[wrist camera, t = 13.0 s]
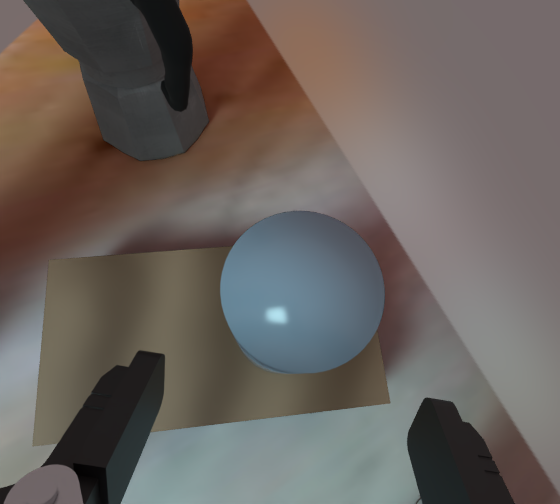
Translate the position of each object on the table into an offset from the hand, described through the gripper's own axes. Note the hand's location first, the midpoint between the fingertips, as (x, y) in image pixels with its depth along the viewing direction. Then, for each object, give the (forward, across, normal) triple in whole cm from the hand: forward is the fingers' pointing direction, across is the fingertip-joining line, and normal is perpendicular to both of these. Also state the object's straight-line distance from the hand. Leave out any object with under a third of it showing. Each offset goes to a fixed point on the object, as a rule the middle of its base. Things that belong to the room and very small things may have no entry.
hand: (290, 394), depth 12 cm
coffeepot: (+24, +12, -3) cm, 27 cm away
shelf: (+12, +4, +9) cm, 16 cm away
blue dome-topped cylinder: (+9, 0, +5) cm, 10 cm away
